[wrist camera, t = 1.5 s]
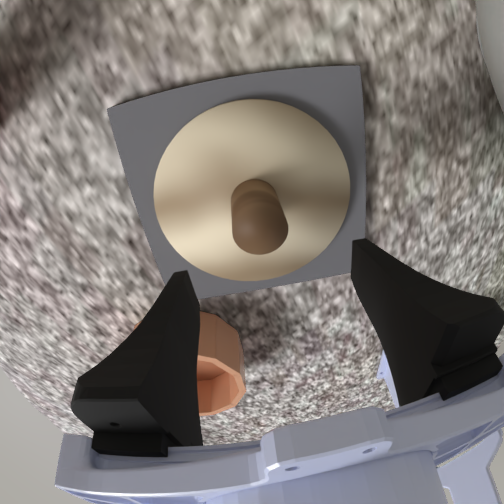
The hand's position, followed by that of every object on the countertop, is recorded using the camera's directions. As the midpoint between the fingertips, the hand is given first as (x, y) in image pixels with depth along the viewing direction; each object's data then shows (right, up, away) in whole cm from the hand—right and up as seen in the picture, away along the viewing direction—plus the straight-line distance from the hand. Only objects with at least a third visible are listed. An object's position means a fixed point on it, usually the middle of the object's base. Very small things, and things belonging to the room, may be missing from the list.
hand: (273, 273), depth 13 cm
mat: (-1, +5, +8) cm, 10 cm away
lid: (-1, +5, +7) cm, 9 cm away
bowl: (-7, -9, +17) cm, 20 cm away
